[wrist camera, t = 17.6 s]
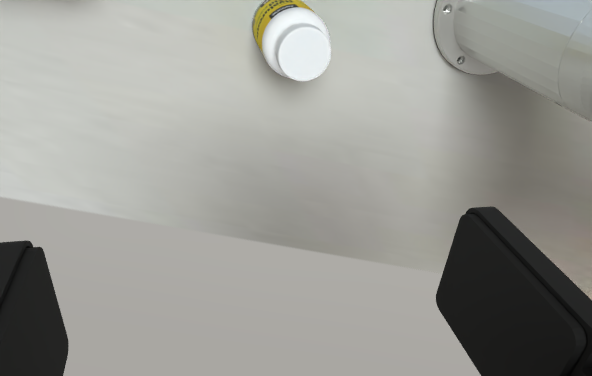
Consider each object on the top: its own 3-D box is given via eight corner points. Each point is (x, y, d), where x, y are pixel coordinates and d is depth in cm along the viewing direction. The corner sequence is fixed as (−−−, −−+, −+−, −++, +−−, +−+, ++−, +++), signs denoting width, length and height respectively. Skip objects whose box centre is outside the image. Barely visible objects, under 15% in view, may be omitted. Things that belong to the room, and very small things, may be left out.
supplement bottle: (281, -22, 39) (309, -1, 31) (321, 24, 42) (356, 54, 34) (237, 24, 41) (253, 56, 33) (279, 66, 43) (303, 105, 35)
